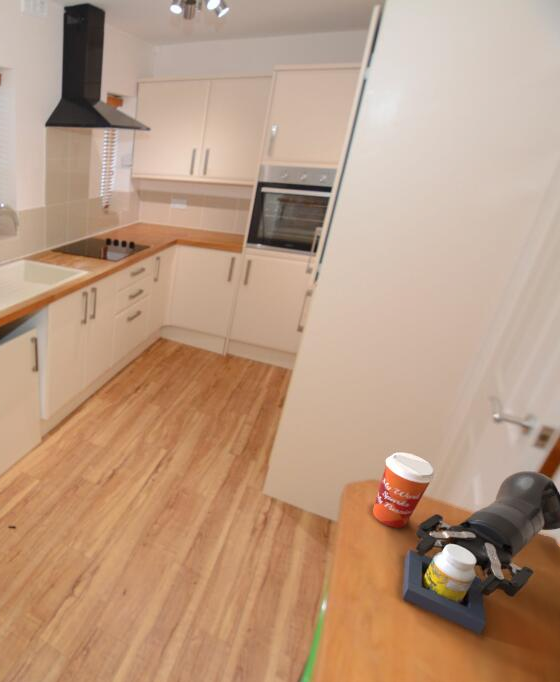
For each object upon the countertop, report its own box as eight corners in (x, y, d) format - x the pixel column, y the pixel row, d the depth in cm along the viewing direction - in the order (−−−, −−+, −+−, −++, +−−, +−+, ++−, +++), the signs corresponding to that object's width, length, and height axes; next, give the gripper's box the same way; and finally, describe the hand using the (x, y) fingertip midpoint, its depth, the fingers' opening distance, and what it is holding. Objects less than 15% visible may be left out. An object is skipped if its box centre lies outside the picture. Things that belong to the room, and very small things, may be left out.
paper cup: (361, 515, 94) (382, 462, 88) (373, 497, 98) (394, 445, 92) (406, 539, 89) (432, 483, 82) (417, 518, 93) (442, 465, 87)
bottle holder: (475, 588, 79) (481, 578, 78) (479, 634, 72) (486, 624, 71) (405, 558, 85) (409, 548, 84) (402, 598, 77) (407, 588, 76)
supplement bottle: (464, 612, 75) (488, 573, 71) (425, 601, 77) (446, 562, 73) (452, 585, 80) (474, 546, 76) (415, 575, 81) (435, 536, 77)
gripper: (539, 578, 77) (493, 622, 70) (442, 519, 89) (394, 553, 82) (560, 546, 74) (514, 590, 67) (456, 490, 85) (408, 522, 79)
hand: (448, 569), depth 75 cm, fingers open, 7 cm apart
